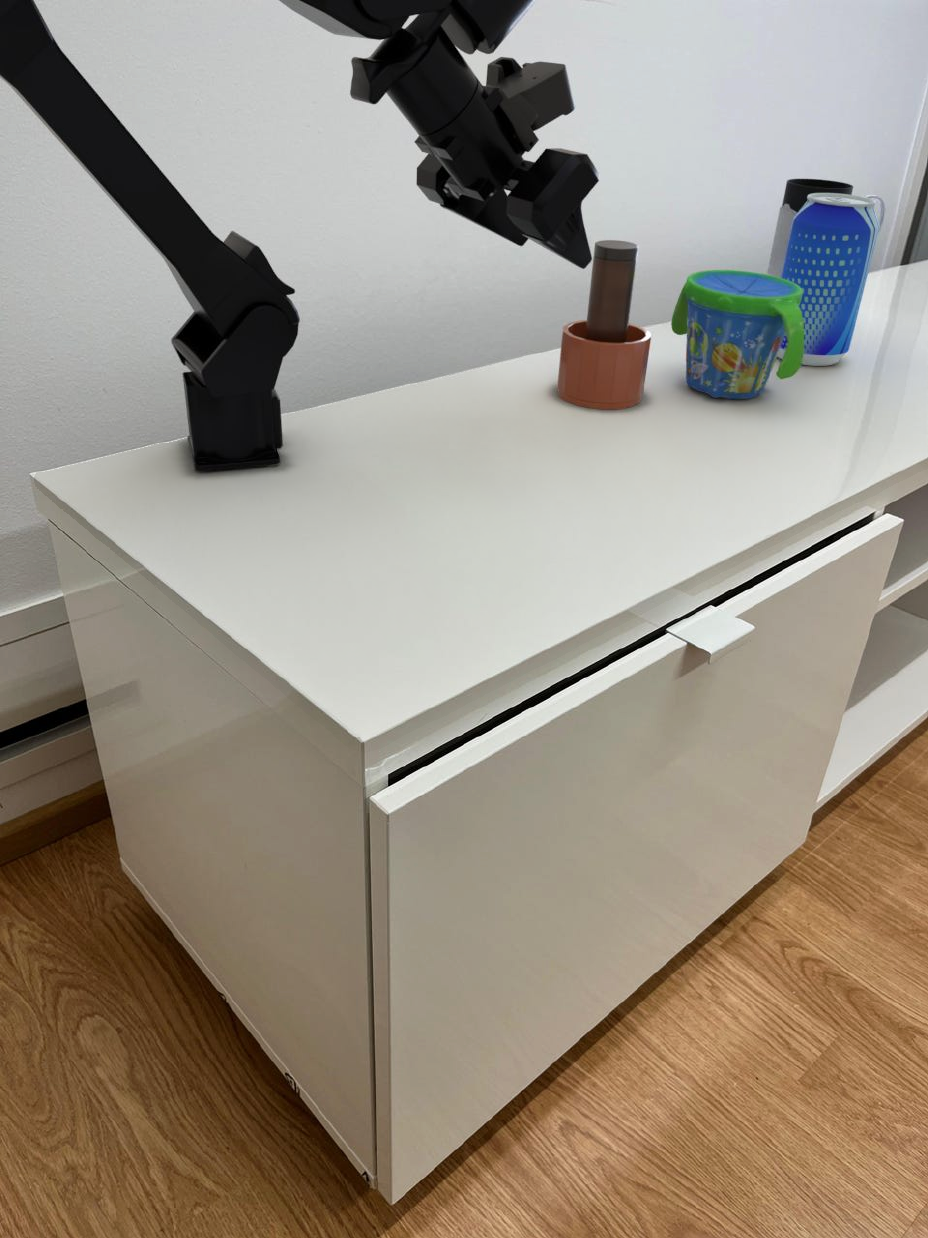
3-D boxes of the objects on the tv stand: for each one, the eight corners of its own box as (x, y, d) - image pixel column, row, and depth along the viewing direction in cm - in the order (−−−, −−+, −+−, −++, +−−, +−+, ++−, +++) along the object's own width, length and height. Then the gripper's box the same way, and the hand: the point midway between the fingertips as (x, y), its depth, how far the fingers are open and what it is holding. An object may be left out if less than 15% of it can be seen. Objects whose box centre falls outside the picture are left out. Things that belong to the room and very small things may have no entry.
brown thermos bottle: (608, 398, 90) (626, 250, 83) (572, 389, 92) (587, 244, 85) (626, 388, 93) (645, 244, 86) (591, 379, 95) (607, 238, 88)
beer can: (854, 354, 108) (894, 198, 99) (834, 373, 102) (875, 208, 93) (779, 340, 111) (811, 188, 103) (755, 357, 105) (787, 197, 97)
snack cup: (820, 410, 92) (847, 299, 86) (727, 422, 88) (749, 306, 82) (721, 361, 104) (740, 261, 98) (636, 369, 100) (650, 265, 95)
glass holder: (742, 305, 124) (767, 177, 117) (839, 302, 128) (869, 177, 120) (779, 324, 117) (808, 189, 109) (880, 320, 121) (915, 189, 113)
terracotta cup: (577, 412, 88) (584, 346, 85) (544, 383, 95) (549, 321, 92) (656, 406, 91) (666, 341, 88) (618, 378, 97) (626, 317, 94)
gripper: (593, 21, 65) (691, 195, 76) (453, 13, 78) (553, 162, 89) (485, 154, 65) (597, 307, 76) (364, 123, 79) (474, 258, 90)
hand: (554, 252), depth 83 cm, fingers open, 9 cm apart
